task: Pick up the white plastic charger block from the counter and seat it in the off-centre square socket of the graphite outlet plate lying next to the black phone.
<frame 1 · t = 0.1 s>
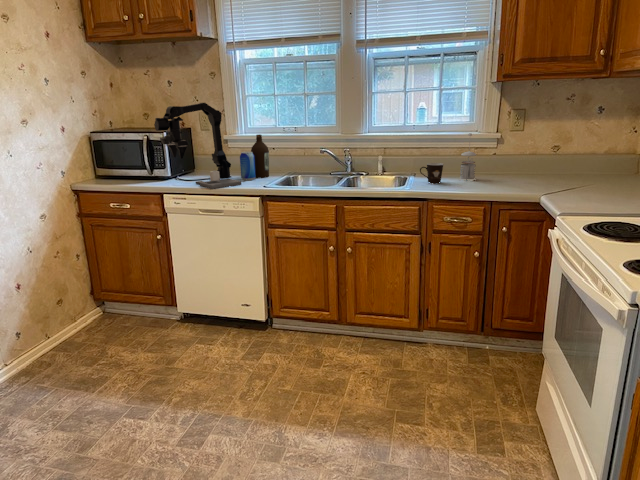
hand: (178, 158, 270), 15 cm above the countertop, tool pointing down, fingers open, 9 cm apart
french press: (467, 180, 264), on the countertop
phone: (201, 184, 272), on the countertop
coffee mug: (431, 183, 258), on the countertop
olive oil: (261, 177, 291), on the countertop
beer can: (248, 179, 282), on the countertop
charger: (215, 181, 279), on the countertop
outlet plate: (220, 185, 266), on the countertop
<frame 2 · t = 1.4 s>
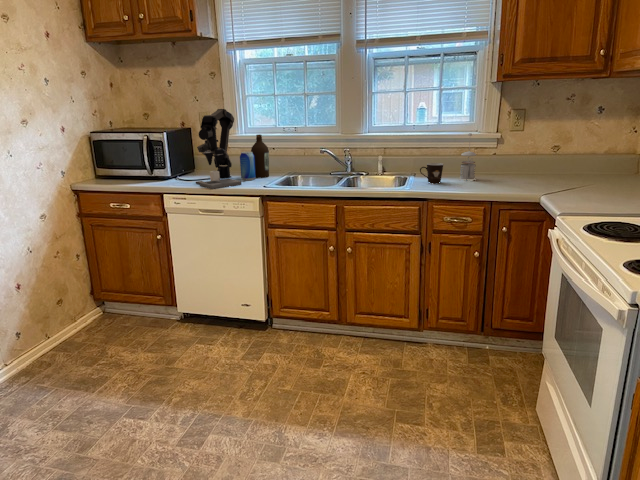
hand: (213, 165, 276), 9 cm above the countertop, tool pointing down, fingers open, 9 cm apart
nothing on the countertop moved.
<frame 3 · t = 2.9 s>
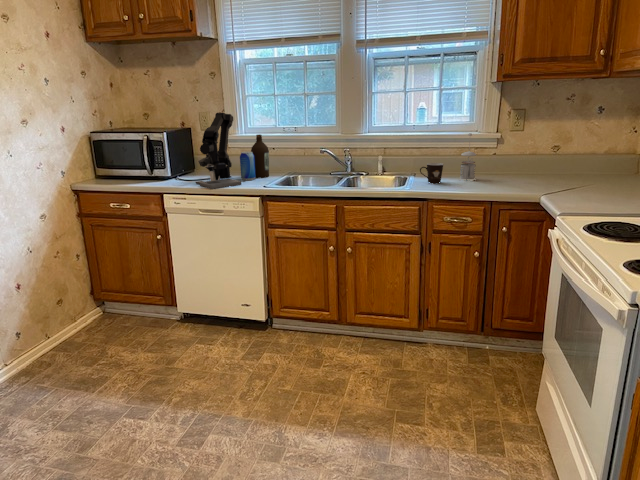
hand: (215, 179, 278), 1 cm above the countertop, tool pointing down, fingers closed on charger, 4 cm apart
charger: (215, 181, 279), on the countertop, touching gripper
everything else where it was.
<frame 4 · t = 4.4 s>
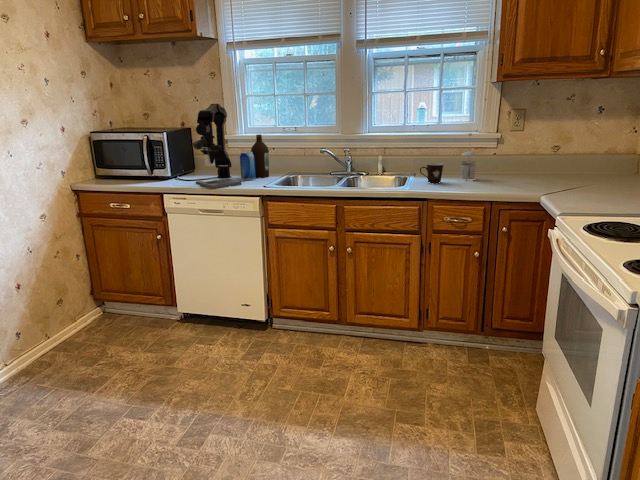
hand: (209, 163, 264), 12 cm above the countertop, tool pointing down, fingers closed on charger, 4 cm apart
charger: (210, 165, 264), point 11 cm above the countertop, touching gripper
everything else where it was.
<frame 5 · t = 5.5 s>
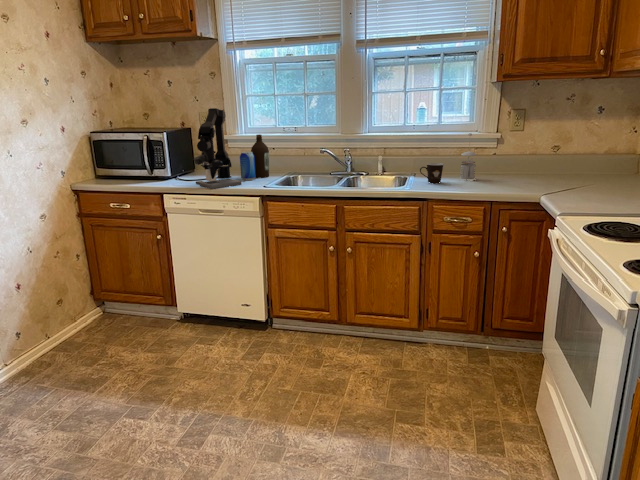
hand: (211, 178, 264), 4 cm above the countertop, tool pointing down, fingers closed on charger, 4 cm apart
charger: (211, 180, 265), point 3 cm above the countertop, touching gripper
everything else where it was.
when the fingers open (2 cm above the countertop, at t = 6.2 s): charger stays where it is, resting on outlet plate.
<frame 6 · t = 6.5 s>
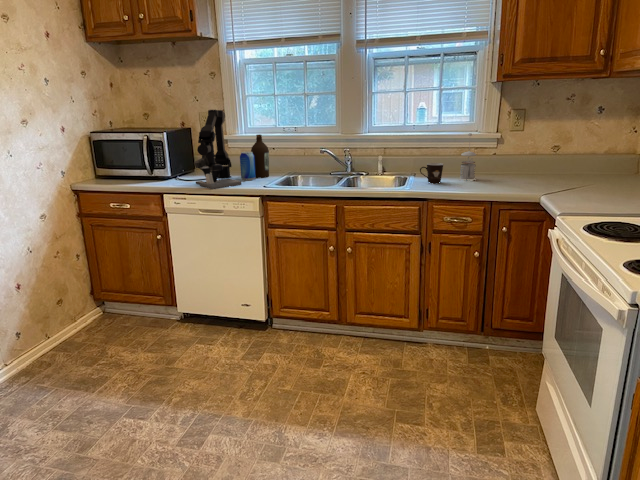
hand: (211, 181, 265), 2 cm above the countertop, tool pointing down, fingers open, 8 cm apart
charger: (211, 184, 265), resting on outlet plate
everything else where it was.
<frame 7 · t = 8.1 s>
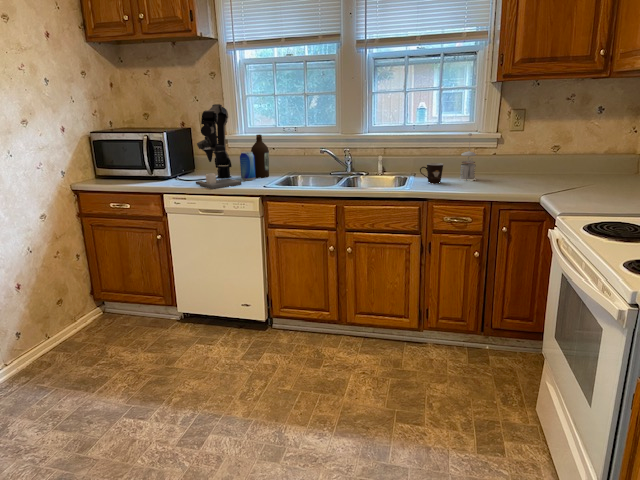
hand: (214, 162, 268), 12 cm above the countertop, tool pointing down, fingers open, 9 cm apart
nothing on the countertop moved.
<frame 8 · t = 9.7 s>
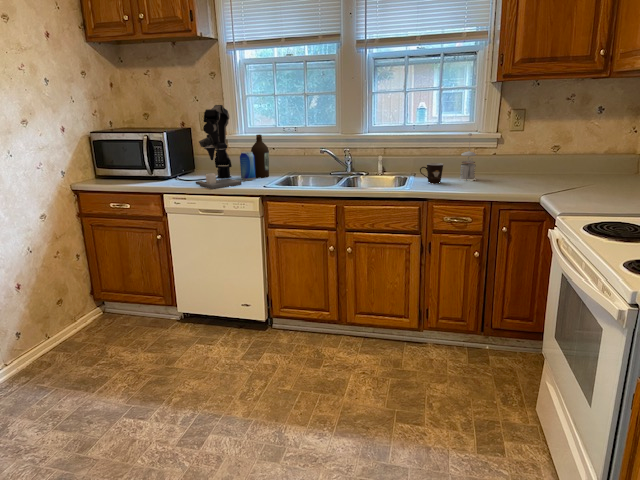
hand: (215, 160, 271), 13 cm above the countertop, tool pointing down, fingers open, 9 cm apart
nothing on the countertop moved.
at the end: charger 1.1 cm from the target spot on the outlet plate, point 0.5 cm above the outlet plate's base; charger tilted 0° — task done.
